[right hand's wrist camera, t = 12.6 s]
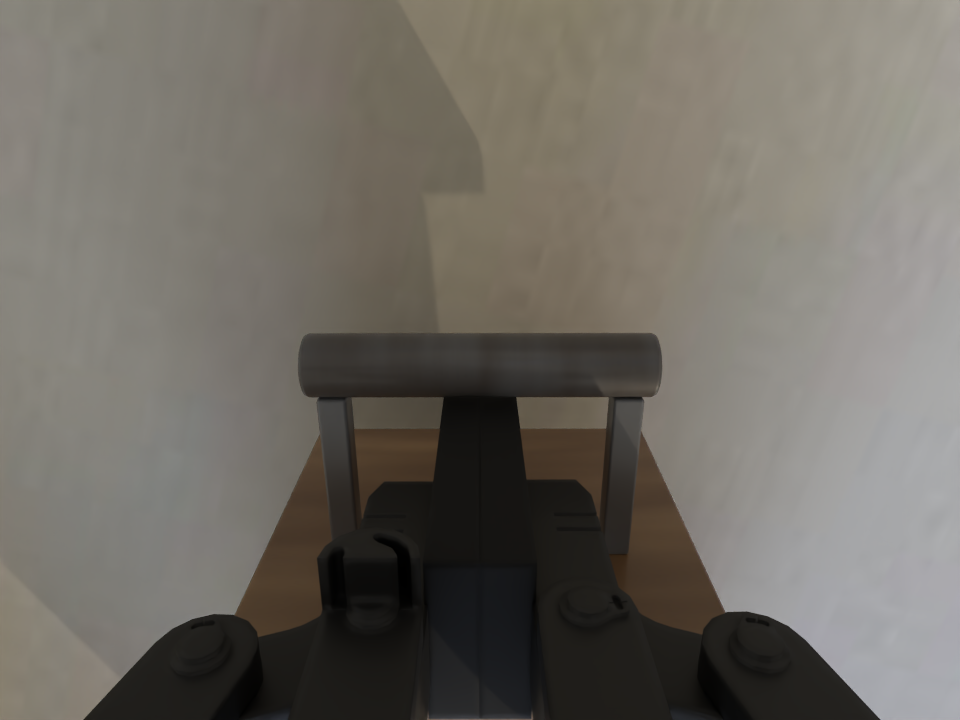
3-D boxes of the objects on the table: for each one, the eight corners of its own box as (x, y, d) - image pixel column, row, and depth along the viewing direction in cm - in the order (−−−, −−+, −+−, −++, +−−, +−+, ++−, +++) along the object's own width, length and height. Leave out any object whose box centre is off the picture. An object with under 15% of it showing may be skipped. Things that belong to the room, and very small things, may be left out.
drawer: (304, 264, 18) (133, 434, 9) (657, 263, 18) (826, 432, 9) (361, 797, 26) (300, 1152, 17) (602, 797, 26) (663, 1154, 17)
